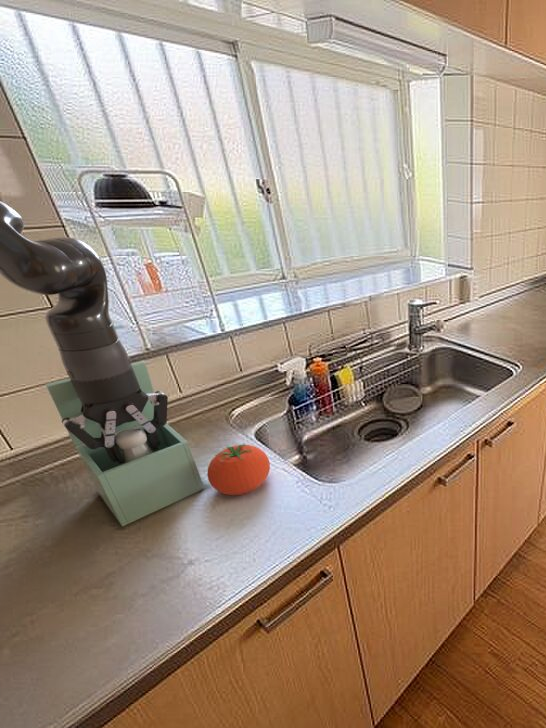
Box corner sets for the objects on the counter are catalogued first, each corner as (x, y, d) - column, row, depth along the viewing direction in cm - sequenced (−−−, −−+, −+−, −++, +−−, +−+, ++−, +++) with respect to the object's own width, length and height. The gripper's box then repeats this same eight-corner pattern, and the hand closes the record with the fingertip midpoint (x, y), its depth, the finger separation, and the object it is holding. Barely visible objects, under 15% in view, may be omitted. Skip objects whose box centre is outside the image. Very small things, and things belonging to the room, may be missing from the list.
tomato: (285, 476, 87) (275, 436, 83) (249, 510, 78) (236, 467, 74) (241, 468, 89) (229, 428, 84) (201, 501, 80) (185, 459, 75)
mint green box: (205, 491, 82) (187, 441, 77) (124, 530, 73) (97, 476, 67) (179, 465, 88) (161, 418, 83) (101, 498, 79) (75, 446, 74)
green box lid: (145, 362, 75) (133, 348, 77) (46, 386, 66) (35, 370, 67) (161, 417, 83) (150, 403, 84) (75, 445, 73) (64, 429, 75)
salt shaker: (176, 477, 82) (155, 421, 77) (165, 497, 78) (141, 439, 72) (140, 482, 81) (115, 425, 75) (127, 502, 76) (99, 443, 70)
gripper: (146, 350, 75) (175, 430, 83) (32, 376, 64) (78, 465, 72) (162, 362, 71) (191, 445, 79) (44, 391, 61) (91, 484, 68)
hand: (137, 454), depth 75 cm, fingers closed on salt shaker, 4 cm apart
